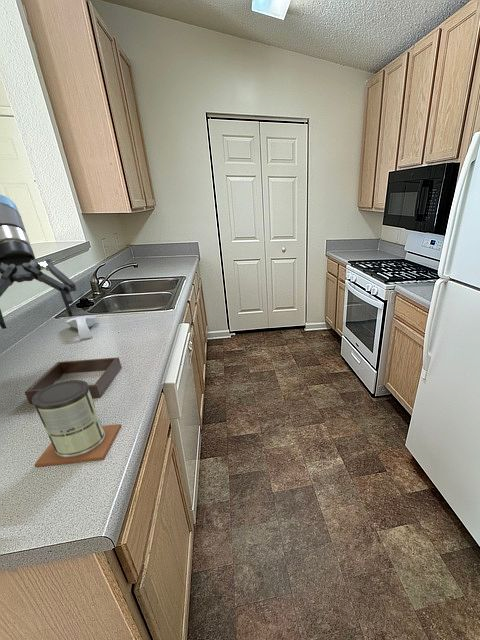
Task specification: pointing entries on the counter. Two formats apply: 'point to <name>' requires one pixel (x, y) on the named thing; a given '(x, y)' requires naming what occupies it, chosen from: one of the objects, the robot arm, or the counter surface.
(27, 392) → the rectangular frame
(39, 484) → the counter surface
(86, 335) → the spoon rest
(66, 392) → the coffee can
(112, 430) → the cork mat
